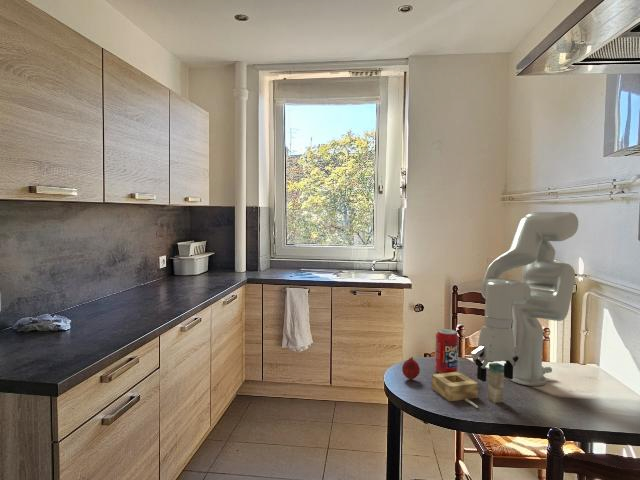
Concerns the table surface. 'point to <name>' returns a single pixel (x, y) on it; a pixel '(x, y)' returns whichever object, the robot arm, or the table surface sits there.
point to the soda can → (446, 351)
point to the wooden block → (454, 386)
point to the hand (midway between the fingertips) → (494, 378)
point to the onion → (410, 368)
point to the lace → (471, 403)
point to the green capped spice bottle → (495, 382)
